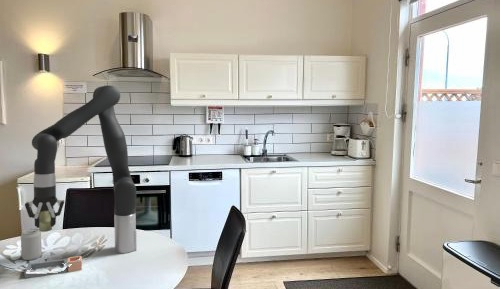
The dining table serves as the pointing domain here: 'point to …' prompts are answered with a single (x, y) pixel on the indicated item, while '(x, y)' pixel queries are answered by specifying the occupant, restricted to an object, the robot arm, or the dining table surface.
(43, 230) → the cell
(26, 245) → the can
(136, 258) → the dining table surface
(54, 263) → the trough
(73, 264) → the cup
